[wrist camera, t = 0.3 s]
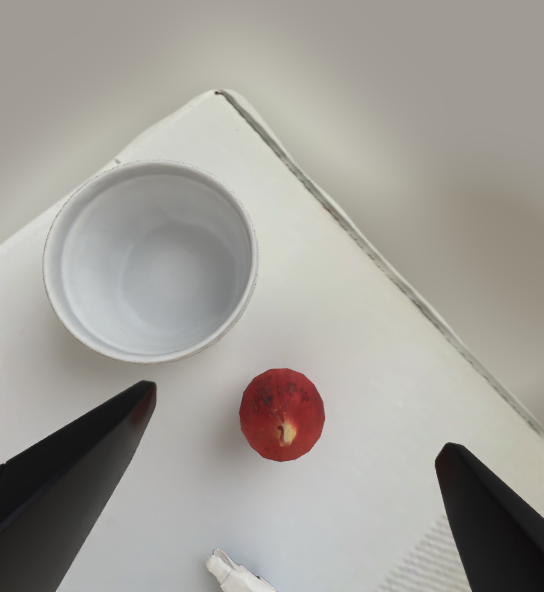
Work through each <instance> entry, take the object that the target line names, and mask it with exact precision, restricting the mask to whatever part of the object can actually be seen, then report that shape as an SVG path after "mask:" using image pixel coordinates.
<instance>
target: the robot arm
mask: <svg viewBox="0 0 544 592" xmlns="http://www.w3.org/2000/svg"><path fill="white" fill-rule="evenodd" d="M156 392H157V386H156V383H155V382H152V381H147V380H142V381H139V382H138V383H136V384H134V385H133V386H131V387H129V388H128V389H126V390H124V391H123V392H121V393H119V394H118V395H116V396H114V397H113V398H111V399H109V400H108V401H106V402H104V403H103V404H101V405H99V406H98V407H96V408H94V409H93V410H91V411H89V412H88V413H86V414H84V415H83V416H81V417H79V418H78V419H76V420H74V421H73V422H71V423H69V424H68V425H66V426H64V427H63V428H61V429H59V430H58V431H56V432H54V433H53V434H51V435H49V436H48V437H46V438H44V439H43V440H41V441H39V442H38V443H36V444H34V445H33V446H31V447H29V448H28V449H26V450H24V451H23V452H21V453H19V454H18V455H16V456H14V457H13V458H11V459H9V460H8V461H7V462H6V464H1V465H0V592H56V590H57V588H58V587H59V585H60V583H61V581H62V580H63V578H64V576H65V574H66V573H67V571H68V569H69V568H70V566H71V564H72V562H73V561H74V559H75V557H76V555H77V554H78V552H79V550H80V549H81V547H82V545H83V543H84V542H85V540H86V538H87V536H88V535H89V533H90V531H91V530H92V528H93V526H94V524H95V523H96V521H97V519H98V517H99V516H100V514H101V512H102V511H103V509H104V507H105V505H106V504H107V502H108V500H109V498H110V497H111V495H112V493H113V491H114V490H115V488H116V486H117V485H118V483H119V481H120V479H121V478H122V476H123V474H124V472H125V471H126V469H127V467H128V465H129V464H130V462H131V460H132V458H133V456H134V454H135V451H136V449H137V447H138V445H139V443H140V440H141V438H142V436H143V434H144V432H145V429H146V427H147V425H148V423H149V421H150V418H151V416H152V414H153V412H154V409H155V406H156ZM435 469H436V473H437V477H438V481H439V485H440V489H441V493H442V498H443V502H444V506H445V510H446V514H447V517H448V521H449V525H450V528H451V531H452V534H453V537H454V540H455V543H456V546H457V549H458V552H459V555H460V558H461V561H462V564H463V567H464V570H465V573H466V576H467V579H468V581H469V584H470V587H471V590H472V592H544V518H543V517H542V516H541V515H540V514H539V513H537V512H536V511H535V510H534V509H533V508H532V507H531V506H530V505H529V504H527V503H526V502H525V501H524V500H523V499H522V498H521V497H520V496H519V495H517V494H516V493H515V492H514V491H513V490H512V489H511V488H510V487H509V486H508V485H506V484H505V483H504V482H503V481H502V480H501V479H500V478H499V477H498V476H496V475H495V474H494V473H493V472H492V471H491V470H490V469H489V468H488V467H487V466H485V465H484V464H483V463H482V462H481V461H480V460H479V459H478V458H477V457H475V456H474V455H473V454H472V453H471V452H470V451H469V450H468V449H467V448H465V447H464V446H463V445H460V444H456V443H451V442H448V443H446V444H445V445H444V447H443V448H442V450H441V451H440V453H439V454H438V456H437V457H436V460H435Z"/></svg>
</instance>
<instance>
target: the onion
mask: <svg viewBox="0 0 544 592" xmlns="http://www.w3.org/2000/svg"><path fill="white" fill-rule="evenodd" d="M239 415H240V423H241V430H242V432H243V433H244V435H245V437H246V439H247V441H248V443H249V444H250V446H251V447H252V448H253V449H255V450H256V451H257V452H258V453H259V454H260V455H261V456H262V457H263V458H266V459H270V460H274V461H279V462H283V461H289V460H295V459H297V458H299V457H301V456H302V455H304V454H306V453H307V452H309V451H310V450H311V448H312V447H313V446H314V444H315V443H316V442H317V441H318V439H319V438H320V436H321V432H322V429H323V425H324V421H325V413H324V406H323V401H322V398H321V397H320V395H319V393H318V391H317V389H316V387H315V385H314V384H313V383H312V382H311V381H310V380H309V379H308V378H307V377H306V376H305V375H304V374H301V373H299V372H296V371H293V370H291V369H288V368H286V369H270V370H268V371H266V372H264V373H262V374H260V375H258V376H257V377H255V378H254V379H253V380H252V381H251V383H250V384H249V385H248V387H247V388H246V389H245V391H244V392H243V397H242V401H241V406H240V411H239Z"/></svg>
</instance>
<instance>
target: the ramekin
mask: <svg viewBox="0 0 544 592" xmlns="http://www.w3.org/2000/svg"><path fill="white" fill-rule="evenodd" d="M258 268H259V251H258V243H257V238H256V234H255V230H254V227H253V224H252V221H251V219H250V217H249V214H248V212H247V211H246V209H245V207H244V206H243V204H242V203H241V201H240V200H239V199H238V197H237V196H236V195H235V194H234V193H233V192H232V191H231V190H230V189H229V188H228V187H227V186H226V185H225V184H224V183H223V182H221V181H220V180H219V179H217V178H216V177H214V176H213V175H211V174H210V173H208V172H206V171H204V170H201V169H199V168H197V167H194V166H191V165H188V164H184V163H180V162H176V161H168V160H144V161H136V162H132V163H127V164H123V165H121V166H117V167H114V168H112V169H110V170H108V171H105V172H103V173H102V174H100V175H98V176H96V177H94V178H93V179H91V180H90V181H88V182H87V183H86V184H84V185H83V186H82V187H81V188H80V189H78V190H77V191H76V193H74V194H73V195H72V196H71V197H70V199H68V201H67V202H66V203H65V204H64V206H63V207H62V209H61V210H60V212H59V213H58V214H57V216H56V218H55V220H54V222H53V224H52V226H51V228H50V231H49V233H48V236H47V239H46V243H45V248H44V254H43V279H44V284H45V289H46V293H47V296H48V298H49V301H50V304H51V306H52V308H53V310H54V312H55V313H56V315H57V317H58V318H59V320H60V321H61V323H62V324H63V325H64V326H65V328H66V329H67V330H68V331H69V332H70V333H71V334H72V335H73V336H74V337H75V338H76V339H77V340H78V341H80V342H81V343H82V344H84V345H85V346H87V347H88V348H90V349H91V350H93V351H95V352H97V353H99V354H101V355H103V356H106V357H109V358H112V359H115V360H118V361H122V362H128V363H135V364H158V363H167V362H172V361H176V360H180V359H183V358H187V357H189V356H192V355H194V354H196V353H198V352H201V351H202V350H204V349H206V348H208V347H209V346H211V345H212V344H214V343H215V342H217V341H218V340H219V339H220V338H222V337H223V336H224V335H225V334H226V333H227V332H228V331H229V330H230V329H231V328H232V327H233V326H234V325H235V323H236V322H237V321H238V319H239V318H240V317H241V315H242V314H243V312H244V311H245V309H246V307H247V305H248V303H249V301H250V299H251V296H252V294H253V291H254V288H255V285H256V280H257V276H258Z"/></svg>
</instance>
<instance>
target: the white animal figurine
mask: <svg viewBox="0 0 544 592" xmlns="http://www.w3.org/2000/svg"><path fill="white" fill-rule="evenodd" d="M205 567H206V568H207V569H208V570H209V572H211V573H212V574H213V575H215V577H216V578H217V579H218V581H219V583H220V584H221V588H222V590H223V591H224V592H277V591H276V590H275V589H274V588H273V587H272V586H271V585H270V584H269V583H267V582H266V581H265V580H264V579H262V578H261V577H260V576H256V575H254V574H252V573H250V572H249V571H248V570H247V569H246V568H245V567H244V566H242V565H239V566H238V565H236V564H235V563H234V562H233V561H232V560H231V559H230V558H229V557H228V556H227V554H226V553H225V552H224V551H222V550H219V549H217V548H216V549H215V550H214V555H211V556H210V557H208V558H207V560H206V563H205Z"/></svg>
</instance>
